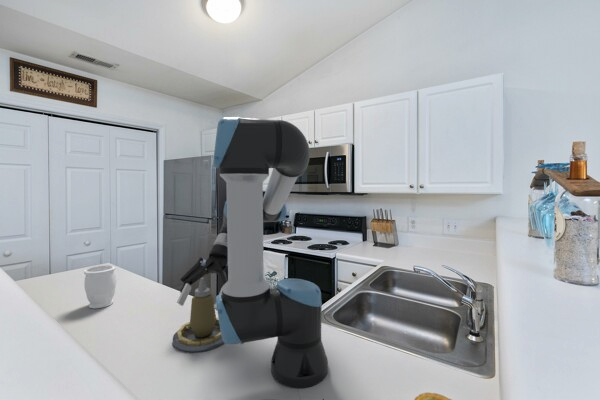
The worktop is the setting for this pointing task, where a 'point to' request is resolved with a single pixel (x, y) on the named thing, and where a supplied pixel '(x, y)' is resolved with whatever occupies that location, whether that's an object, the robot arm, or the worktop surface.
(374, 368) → the worktop surface
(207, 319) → the squeeze bottle
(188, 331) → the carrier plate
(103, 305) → the jar
